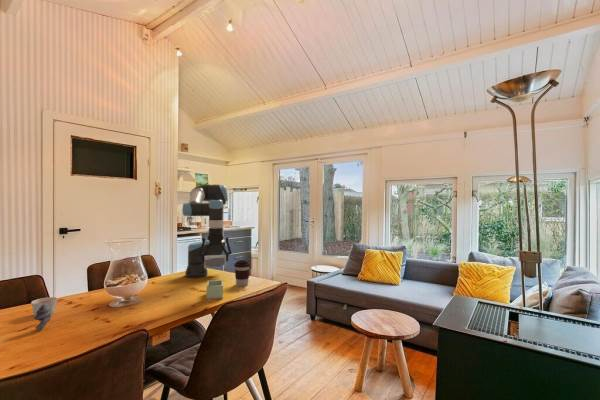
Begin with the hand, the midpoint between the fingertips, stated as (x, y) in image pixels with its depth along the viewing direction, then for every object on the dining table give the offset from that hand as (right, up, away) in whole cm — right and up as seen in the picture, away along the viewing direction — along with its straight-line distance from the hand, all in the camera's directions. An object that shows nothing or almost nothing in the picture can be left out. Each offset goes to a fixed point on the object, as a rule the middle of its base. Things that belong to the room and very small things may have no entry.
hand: (215, 267), depth 164 cm
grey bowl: (-70, -15, -29) cm, 77 cm away
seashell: (-57, -15, -45) cm, 74 cm away
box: (0, -16, 0) cm, 16 cm away
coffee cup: (+11, -16, +22) cm, 29 cm away
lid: (0, +2, 0) cm, 2 cm away
